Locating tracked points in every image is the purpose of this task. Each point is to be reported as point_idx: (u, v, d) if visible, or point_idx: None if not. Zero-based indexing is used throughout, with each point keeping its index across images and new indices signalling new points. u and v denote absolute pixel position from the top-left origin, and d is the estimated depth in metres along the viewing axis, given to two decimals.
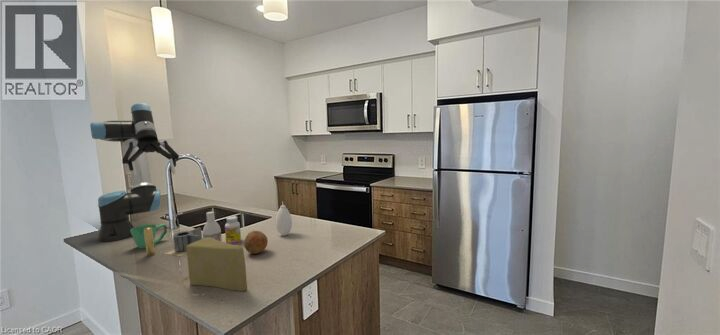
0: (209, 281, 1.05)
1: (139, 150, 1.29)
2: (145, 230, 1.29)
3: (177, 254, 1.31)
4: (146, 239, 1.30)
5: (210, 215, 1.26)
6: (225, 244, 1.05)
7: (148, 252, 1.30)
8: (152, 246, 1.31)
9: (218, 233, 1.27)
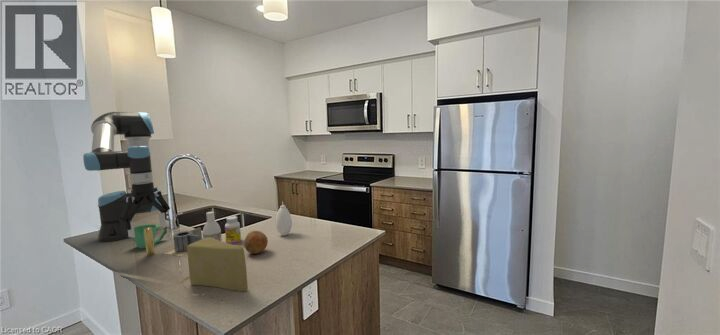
0: (210, 281, 1.05)
1: (137, 207, 1.25)
2: (145, 230, 1.29)
3: (177, 254, 1.31)
4: (146, 239, 1.30)
5: (210, 215, 1.26)
6: (226, 244, 1.05)
7: (148, 252, 1.30)
8: (152, 246, 1.31)
9: (218, 233, 1.27)
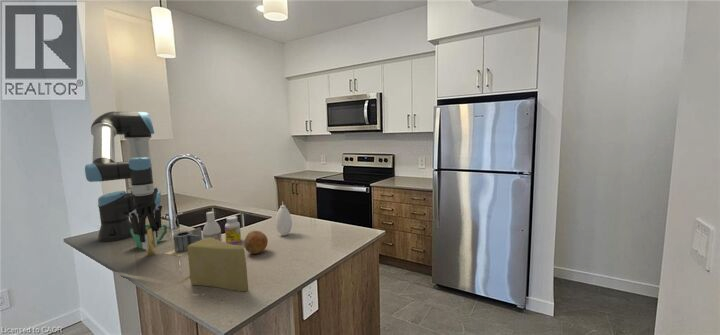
0: (210, 282, 1.05)
1: (144, 219, 1.28)
2: (145, 230, 1.29)
3: (177, 254, 1.31)
4: None
5: (210, 215, 1.26)
6: (226, 244, 1.05)
7: (148, 252, 1.30)
8: (152, 246, 1.31)
9: (218, 233, 1.27)
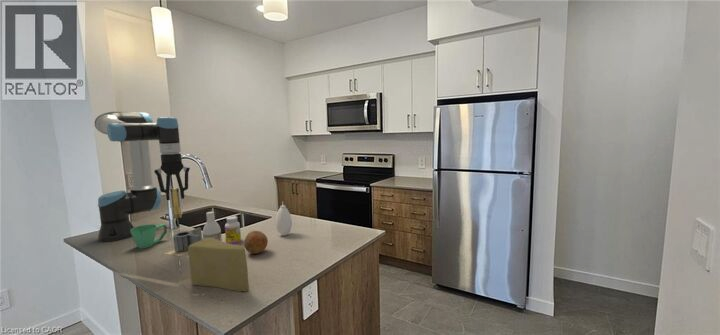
0: (211, 282, 1.05)
1: (168, 178, 1.30)
2: None
3: (177, 254, 1.31)
4: None
5: (210, 215, 1.26)
6: (227, 244, 1.05)
7: (173, 212, 1.33)
8: (176, 207, 1.33)
9: (218, 233, 1.27)
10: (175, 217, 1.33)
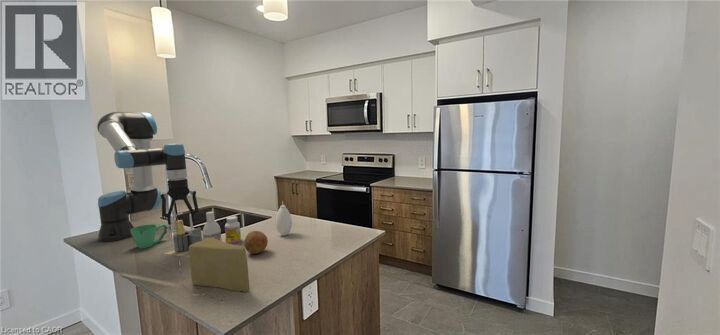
0: (212, 282, 1.05)
1: (172, 203, 1.32)
2: (175, 222, 1.35)
3: (177, 254, 1.31)
4: None
5: (210, 215, 1.26)
6: (227, 244, 1.05)
7: None
8: None
9: (218, 233, 1.27)
10: None
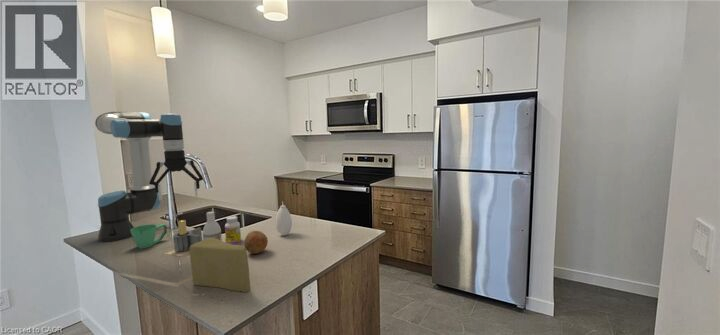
0: (212, 282, 1.04)
1: (165, 172, 1.30)
2: (178, 222, 1.35)
3: (177, 254, 1.31)
4: (179, 231, 1.35)
5: (210, 215, 1.26)
6: (228, 244, 1.05)
7: None
8: None
9: (218, 233, 1.27)
10: None
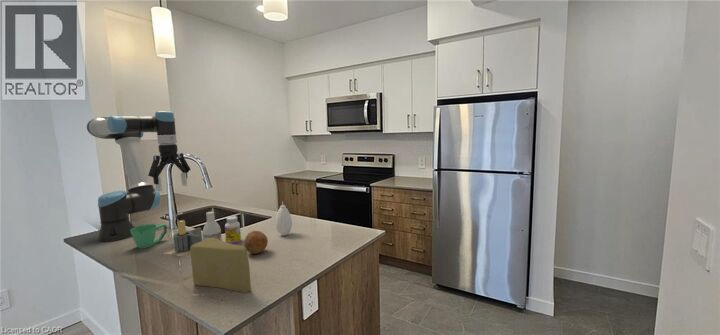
0: (213, 282, 1.04)
1: (164, 165, 1.42)
2: (177, 223, 1.34)
3: (177, 254, 1.31)
4: (178, 231, 1.35)
5: (210, 215, 1.26)
6: (229, 245, 1.05)
7: None
8: None
9: (218, 233, 1.27)
10: None
